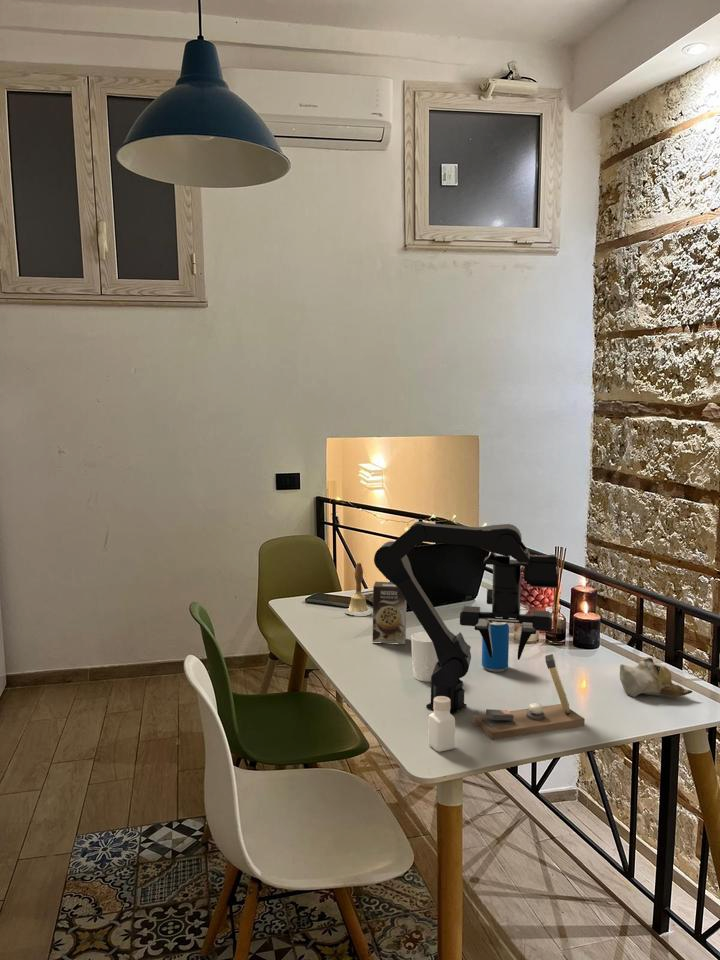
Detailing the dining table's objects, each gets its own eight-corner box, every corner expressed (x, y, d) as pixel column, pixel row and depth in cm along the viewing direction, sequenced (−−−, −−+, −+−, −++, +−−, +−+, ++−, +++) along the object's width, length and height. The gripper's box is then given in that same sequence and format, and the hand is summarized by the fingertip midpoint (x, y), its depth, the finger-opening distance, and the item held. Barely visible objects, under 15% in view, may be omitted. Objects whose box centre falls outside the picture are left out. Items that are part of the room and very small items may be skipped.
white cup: (409, 671, 182) (409, 631, 181) (441, 671, 182) (442, 631, 181) (412, 683, 175) (412, 641, 174) (445, 683, 175) (446, 641, 174)
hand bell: (372, 610, 237) (373, 560, 235) (369, 617, 229) (369, 566, 227) (347, 609, 238) (347, 560, 236) (343, 616, 230) (343, 565, 228)
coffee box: (371, 644, 203) (372, 586, 201) (374, 636, 209) (374, 580, 208) (405, 645, 202) (405, 587, 200) (406, 638, 208) (407, 581, 207)
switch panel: (473, 723, 152) (473, 713, 152) (561, 710, 159) (562, 700, 159) (492, 740, 145) (492, 729, 145) (584, 725, 151) (584, 715, 151)
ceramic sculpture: (610, 649, 172) (671, 651, 174) (607, 685, 173) (667, 686, 175) (632, 666, 161) (697, 667, 163) (628, 704, 162) (692, 705, 164)
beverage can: (489, 661, 189) (490, 615, 188) (512, 667, 185) (513, 620, 184) (476, 668, 184) (477, 621, 183) (500, 674, 180) (501, 626, 179)
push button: (526, 709, 153) (526, 704, 153) (537, 708, 154) (537, 702, 154) (533, 714, 151) (533, 709, 150) (544, 713, 151) (544, 707, 151)
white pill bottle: (437, 753, 139) (438, 704, 138) (427, 744, 143) (427, 697, 142) (455, 749, 141) (456, 701, 140) (444, 740, 145) (445, 693, 144)
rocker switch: (485, 714, 150) (486, 708, 150) (505, 714, 152) (506, 709, 152) (491, 719, 147) (493, 713, 147) (512, 720, 149) (513, 714, 149)
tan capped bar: (564, 715, 153) (545, 661, 153) (563, 708, 157) (545, 655, 156) (572, 713, 153) (553, 659, 152) (571, 707, 156) (552, 653, 156)
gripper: (551, 579, 161) (549, 649, 162) (464, 574, 165) (463, 642, 166) (553, 591, 150) (550, 666, 151) (460, 586, 154) (458, 659, 156)
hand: (504, 658), depth 156 cm, fingers open, 5 cm apart
